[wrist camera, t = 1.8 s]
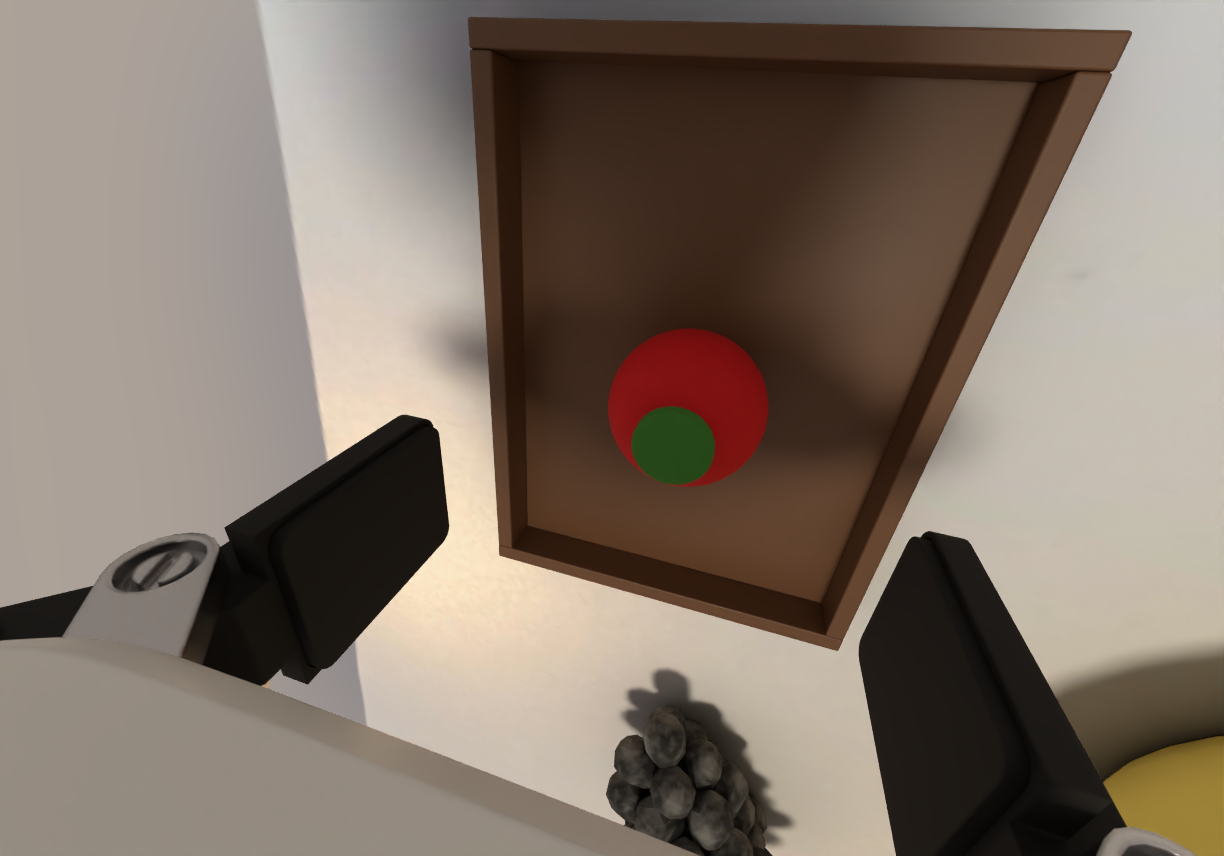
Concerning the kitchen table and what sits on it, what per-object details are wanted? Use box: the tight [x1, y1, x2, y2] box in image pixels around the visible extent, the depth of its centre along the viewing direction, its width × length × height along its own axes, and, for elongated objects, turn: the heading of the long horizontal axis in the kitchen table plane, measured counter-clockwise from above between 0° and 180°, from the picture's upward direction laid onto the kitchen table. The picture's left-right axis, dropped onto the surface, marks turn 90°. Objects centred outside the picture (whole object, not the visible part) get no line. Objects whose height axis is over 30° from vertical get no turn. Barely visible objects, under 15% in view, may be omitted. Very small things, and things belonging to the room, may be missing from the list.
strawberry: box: [608, 328, 769, 487], centre depth 13 cm, size 4×4×5 cm
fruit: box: [606, 705, 772, 856], centre depth 23 cm, size 9×8×15 cm
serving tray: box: [468, 17, 1132, 651], centre depth 15 cm, size 17×13×2 cm
